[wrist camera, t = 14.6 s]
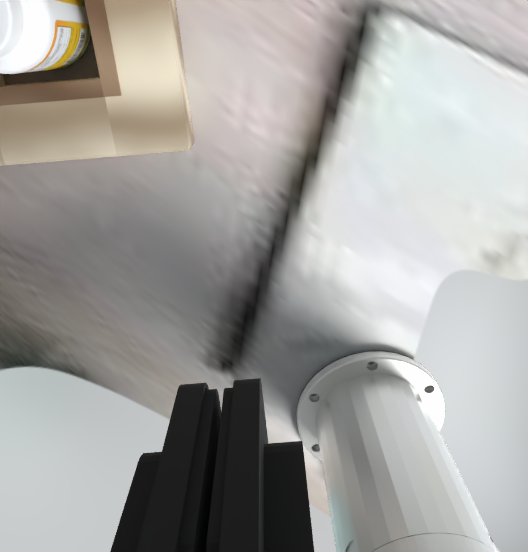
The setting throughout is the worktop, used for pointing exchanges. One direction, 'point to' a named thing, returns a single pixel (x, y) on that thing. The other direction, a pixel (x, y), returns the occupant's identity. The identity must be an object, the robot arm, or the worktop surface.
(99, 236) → the worktop surface
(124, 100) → the socket board
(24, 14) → the supplement bottle
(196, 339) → the worktop surface
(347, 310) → the worktop surface
